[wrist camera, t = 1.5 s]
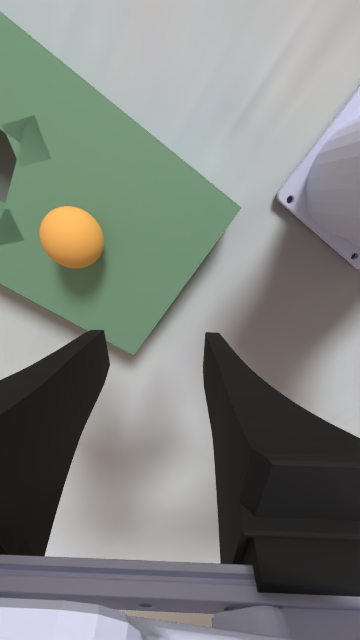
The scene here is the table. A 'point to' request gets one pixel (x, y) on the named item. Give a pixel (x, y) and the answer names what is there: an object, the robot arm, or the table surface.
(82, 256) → the ball
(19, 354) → the table surface
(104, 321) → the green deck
